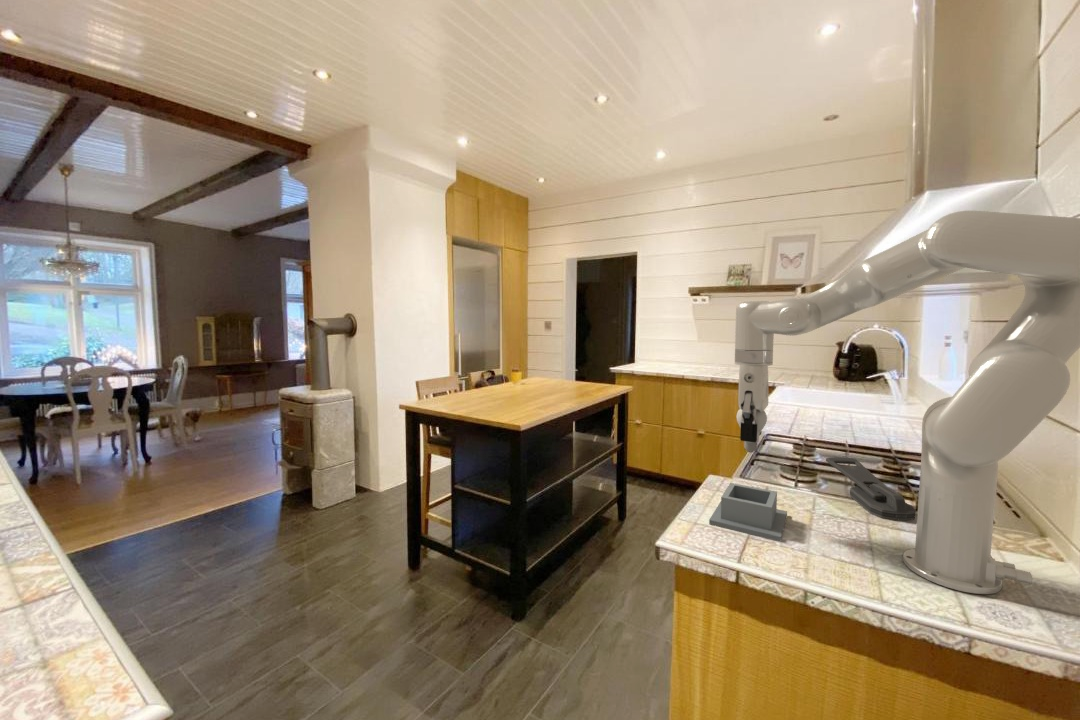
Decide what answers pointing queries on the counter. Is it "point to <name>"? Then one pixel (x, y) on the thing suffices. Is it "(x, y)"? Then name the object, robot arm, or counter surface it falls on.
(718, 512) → the socket holder
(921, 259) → the robot arm
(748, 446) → the lightbulb
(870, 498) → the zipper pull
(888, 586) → the counter surface
